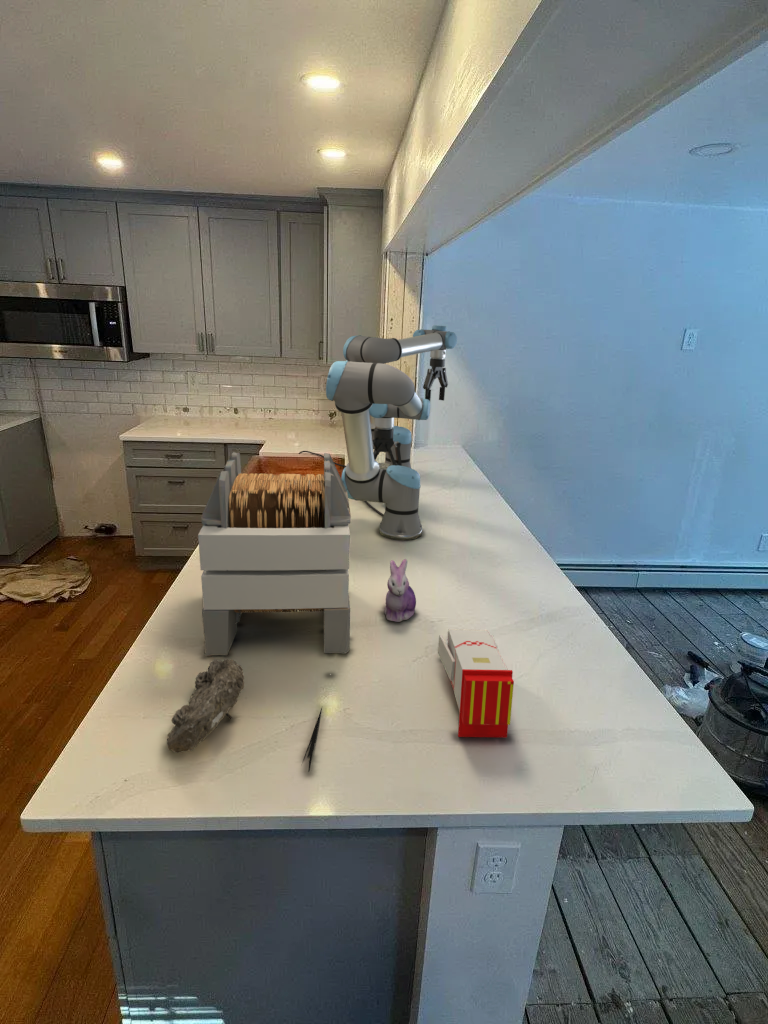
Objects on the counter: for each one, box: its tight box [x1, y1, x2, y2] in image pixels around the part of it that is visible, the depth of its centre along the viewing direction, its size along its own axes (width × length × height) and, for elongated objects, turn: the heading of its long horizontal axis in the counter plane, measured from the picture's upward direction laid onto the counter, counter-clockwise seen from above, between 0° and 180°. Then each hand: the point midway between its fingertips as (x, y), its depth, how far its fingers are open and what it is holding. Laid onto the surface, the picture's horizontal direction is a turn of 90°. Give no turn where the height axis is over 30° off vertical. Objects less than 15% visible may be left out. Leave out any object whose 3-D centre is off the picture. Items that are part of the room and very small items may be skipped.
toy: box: [437, 628, 515, 738], centre depth 117 cm, size 12×13×30 cm
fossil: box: [166, 658, 245, 754], centre depth 106 cm, size 22×10×15 cm
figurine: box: [384, 558, 417, 623], centre depth 145 cm, size 9×10×15 cm
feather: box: [301, 673, 332, 771], centre depth 108 cm, size 2×28×2 cm
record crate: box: [197, 451, 352, 657], centre depth 136 cm, size 34×33×41 cm
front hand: (381, 484), depth 225 cm, fingers closed on tin, 8 cm apart
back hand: (434, 401), depth 288 cm, fingers open, 13 cm apart
